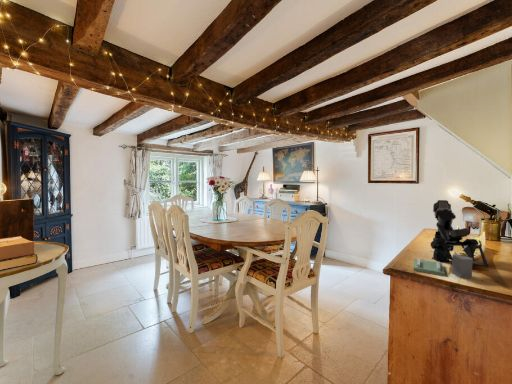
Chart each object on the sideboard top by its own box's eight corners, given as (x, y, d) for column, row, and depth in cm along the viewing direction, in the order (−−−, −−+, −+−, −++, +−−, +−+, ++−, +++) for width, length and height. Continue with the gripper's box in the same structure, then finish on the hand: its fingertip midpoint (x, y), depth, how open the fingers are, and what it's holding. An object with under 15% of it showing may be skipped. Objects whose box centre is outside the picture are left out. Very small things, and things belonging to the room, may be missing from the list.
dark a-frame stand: (465, 262, 131) (466, 240, 130) (465, 260, 136) (466, 238, 135) (488, 266, 125) (490, 243, 124) (487, 263, 130) (489, 241, 129)
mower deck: (442, 265, 126) (442, 260, 126) (444, 276, 114) (444, 269, 113) (414, 261, 133) (414, 256, 133) (413, 270, 120) (413, 264, 120)
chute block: (462, 273, 117) (463, 254, 116) (471, 277, 112) (472, 258, 111) (451, 273, 116) (452, 254, 116) (460, 277, 111) (461, 258, 111)
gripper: (435, 221, 118) (450, 251, 108) (476, 222, 117) (496, 252, 107) (424, 234, 127) (437, 262, 116) (463, 234, 125) (479, 263, 115)
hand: (462, 260), depth 113 cm, fingers open, 9 cm apart
